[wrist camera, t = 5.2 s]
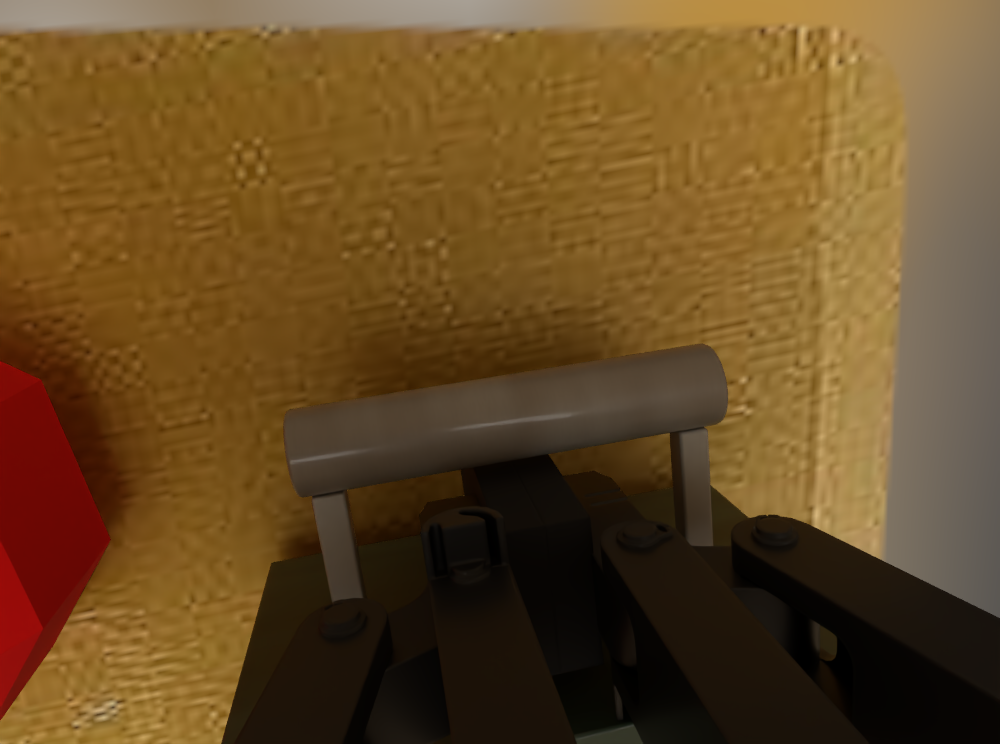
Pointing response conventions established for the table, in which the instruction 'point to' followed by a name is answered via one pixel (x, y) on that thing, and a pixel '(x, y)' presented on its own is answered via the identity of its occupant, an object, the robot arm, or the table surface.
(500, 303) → the table surface
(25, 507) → the red faceted polyhedron
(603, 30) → the table surface
